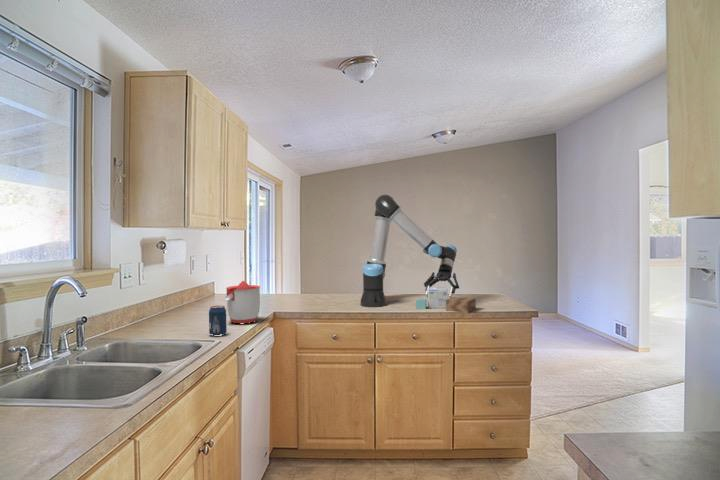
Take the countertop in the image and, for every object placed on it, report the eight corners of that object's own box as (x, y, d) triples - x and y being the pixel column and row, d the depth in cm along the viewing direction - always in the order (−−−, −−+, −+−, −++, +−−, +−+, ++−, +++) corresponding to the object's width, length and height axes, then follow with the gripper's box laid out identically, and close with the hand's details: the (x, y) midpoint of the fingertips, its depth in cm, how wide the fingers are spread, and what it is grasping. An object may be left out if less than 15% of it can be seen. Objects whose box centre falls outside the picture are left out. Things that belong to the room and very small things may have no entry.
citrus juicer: (217, 323, 208) (216, 281, 208) (248, 317, 221) (247, 278, 221) (236, 328, 198) (235, 283, 198) (267, 321, 211) (266, 280, 211)
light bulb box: (446, 306, 248) (446, 287, 248) (448, 308, 241) (448, 288, 241) (427, 306, 248) (427, 287, 248) (428, 308, 242) (428, 288, 241)
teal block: (416, 309, 240) (416, 300, 240) (417, 307, 245) (417, 298, 245) (425, 309, 239) (425, 300, 239) (426, 307, 244) (426, 298, 244)
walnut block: (446, 311, 234) (445, 299, 234) (454, 307, 244) (454, 297, 244) (467, 313, 227) (467, 301, 227) (475, 309, 237) (475, 298, 237)
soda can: (223, 332, 190) (222, 304, 189) (229, 335, 184) (228, 306, 184) (207, 334, 185) (206, 306, 185) (212, 337, 180) (211, 308, 180)
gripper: (468, 272, 254) (461, 302, 241) (427, 271, 265) (418, 299, 253) (466, 263, 249) (459, 294, 236) (424, 263, 261) (415, 291, 248)
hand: (438, 296), depth 244 cm, fingers open, 13 cm apart
